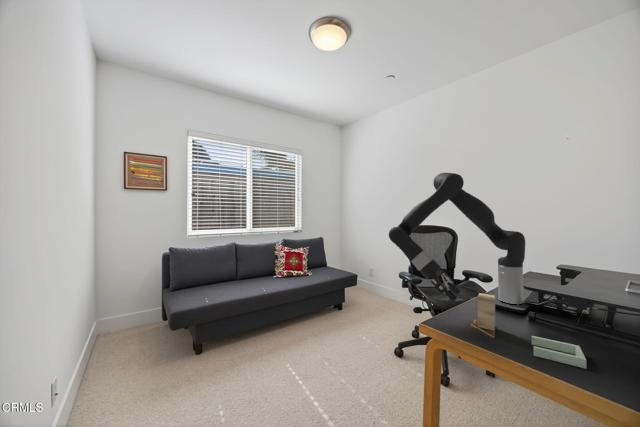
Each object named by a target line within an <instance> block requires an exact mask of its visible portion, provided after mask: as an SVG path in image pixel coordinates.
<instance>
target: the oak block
mask: <svg viewBox="0 0 640 427" xmlns="http://www.w3.org/2000/svg"><path fill="white" fill-rule="evenodd" d="M477 320H478V327H481V328H485V329H490V330H495V331H496V295H493V294H486V293H480V292H478V295H477Z"/></svg>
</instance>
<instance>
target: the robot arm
mask: <svg viewBox="0 0 640 427" xmlns="http://www.w3.org/2000/svg"><path fill="white" fill-rule="evenodd" d="M464 184H465V183H464V178H463V177H462V175H460V174H458V173H454V172H441V173H439V174H436V176H435V177H434V179H433V187H434V189H435V192H434V193H433V194H431V195H430V196H428V197H427V198H426V199H424V200H423V201H421V202H420V203H418V204H416V205H415V206H414V207H413V208H412V209H411V210H410V211H409V212H408V213H407V214H405V215H404V217H403V219H402V220H401V222H400V223H399V224H398V225H397V226H394V227H391V228H390V229H389V230H388V231H389V232H388V237H389V240H390V241H391V242H392V243H393V244H394V245H395V246H396V247H398V249H399V250H401V251H402V253H403V254H404V255H405V257H406V258H407V259H408V260H409V261H410V262H411V263H412V264H413V265H414V267H415V268H416V269H417V270H418V271H419V272H420V273H421V274H422V275H423V277H424V278H425V279H430V278H431V279H430V283H431V284H432V285H433V286H434V287H435V288H436V289H437V291H439V293H440V294H445V296H447V297H448V298H449V300H451V301H452V302H454V301H457V299H458V297H457V295H458V294H460V293H461V290H460V289H459V288H458V286H456V285H455V284H454V280H453V279H452V278H451V277H450V276H449V275H448V274H447V273H446V272H445V271H444V270H443V269H441V265H440V264H439V263H438V262H437V261H436V260H435V259H434V258H433V257H432V256H431V255H430V254H429V253H428V252H426V251H425V250H424V249H422V247H421V246H420V245H419V244H418V243H416V242H415V241H414V240H413V239H412V237H411V235H412V233H414V231H415V230H416V229H418V227H419V226H421V224H422V223H423V222H425V220H426V219H427V218H428V217H429V216H430V215H431V214H432V213H433V212H435V211H436V210H437V209H438V208H440V207H442V205H444V203H446V202H447V201H450V202H451V203H452V204H453V205H454V206H455V207H456V208H457V209H458V210H459V211H460V212H461V213H462V214H463V215H464V216H465V217H466V218H467V219H468V220H469V221H470V222H471V223H473V224H474V225H475V226H476V227H477V228H478V229H479V230H480V231H481V232H483V234H484V235H485V236H487V238H488V239H489V241H491V243H492V244H493V246H495V247H496V248H498V249H499V250H501V251H502V250H503V251H507V253H506V256H501V257H499V258H497V282H498V284H497V289H498V297H497V298H498V299H499V300H500V301H503V302H506V303H511V304H521V303H523V304H524V262H525V257H526V254H525V253H526V237H525V235H524V234H523V233H522V232H520V231H515V230H505V229H503V228H501V227H500V226H499V225H498V224H497V223H496V222H495V215H494V212H493V210H492V209H491V208H490V207H489V206H488V205H487V204H486V203H485V202H483V201H482V200H481V199H479V198H478V197H476V196H474V195H473V194H470V192H467V191H466V190H464V189H463V187H464ZM440 269H441V270H440ZM499 300H498V301H499ZM500 301H499V302H500Z"/></svg>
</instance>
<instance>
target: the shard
mask: <svg viewBox="0 0 640 427" xmlns="http://www.w3.org/2000/svg"><path fill="white" fill-rule="evenodd" d="M470 326H471V327H473V328H475V329H477V330H479V331H480V332H481V333H484V334H486V335H488V336H490V337H491V338H495V334H496V329H495V330H490V329H485V328H481V327H478V319H474V320H473V322H472V323H470Z"/></svg>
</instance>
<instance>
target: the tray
mask: <svg viewBox="0 0 640 427" xmlns="http://www.w3.org/2000/svg"><path fill="white" fill-rule="evenodd" d="M531 345H532V346H533V356H534V357H536V358H537V357H538V358H541V359H545V360H549V361H554V362H558V363H560V364H561V363H562V364H565V365H570V366H573V367H579V368H581V369H585V370H587V359H586V357H585V354H584V352H583V351H582V349H581V346H580V345H579V344H577V345H576V344H572V343H567V342H564V341H563V342H562V341H559V340H553V339H549V338H545V337H539V336H535V335H531Z"/></svg>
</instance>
